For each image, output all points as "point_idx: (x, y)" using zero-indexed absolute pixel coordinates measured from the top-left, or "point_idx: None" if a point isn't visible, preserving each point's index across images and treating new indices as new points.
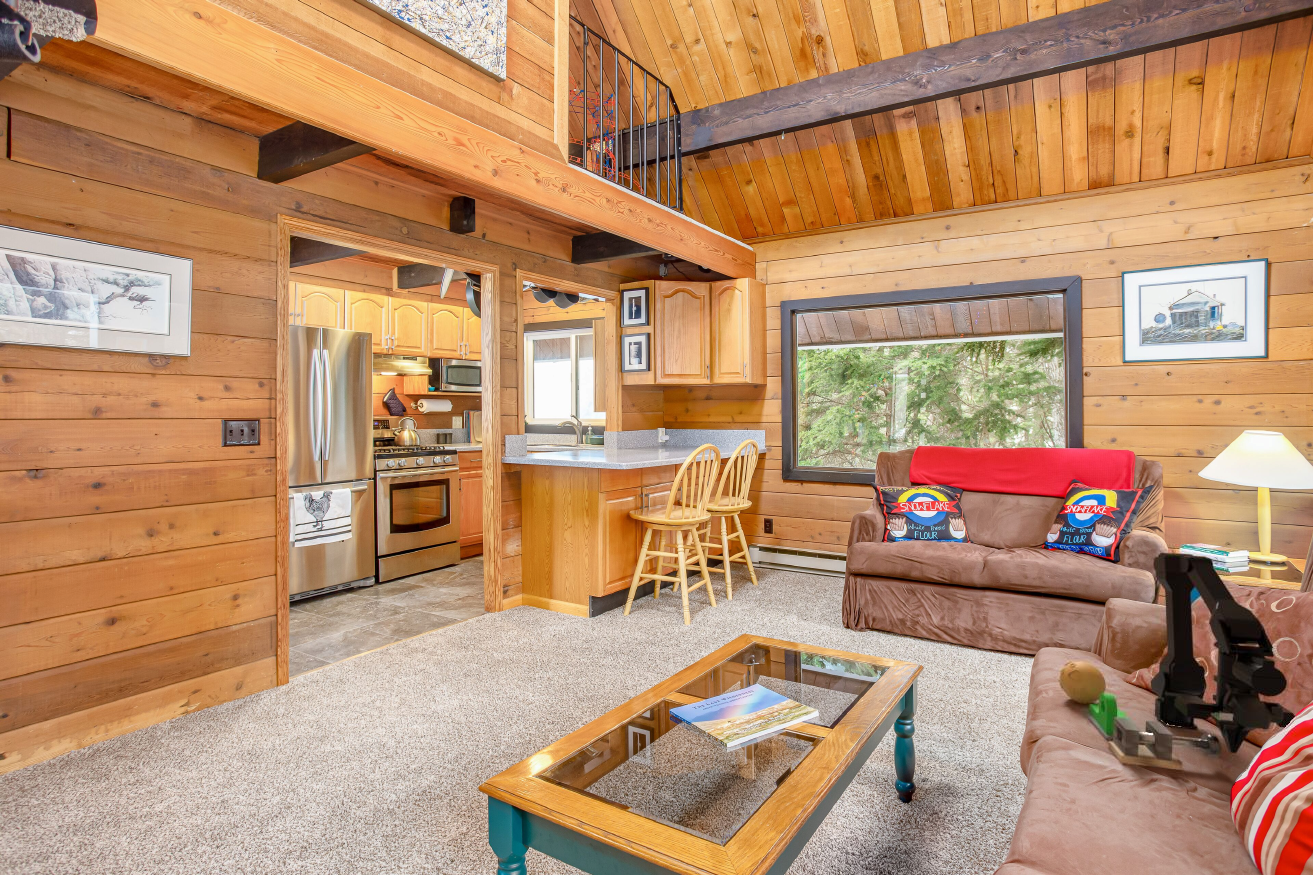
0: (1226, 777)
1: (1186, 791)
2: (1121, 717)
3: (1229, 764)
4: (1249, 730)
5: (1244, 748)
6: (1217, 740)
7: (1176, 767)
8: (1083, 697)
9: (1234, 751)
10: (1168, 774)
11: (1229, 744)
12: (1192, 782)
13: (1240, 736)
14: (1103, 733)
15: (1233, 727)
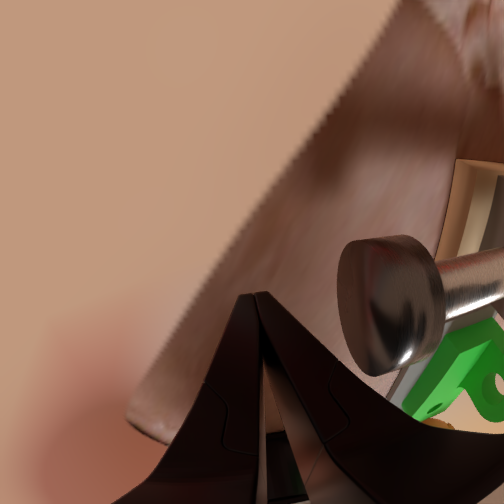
0: (313, 133)
1: (491, 4)
2: (439, 392)
3: (230, 287)
4: (160, 483)
5: (142, 400)
6: (405, 312)
7: (474, 161)
8: (434, 423)
9: (251, 298)
10: (500, 114)
11: (301, 324)
12: (465, 59)
13: (240, 402)
14: (495, 315)
15: (396, 468)
